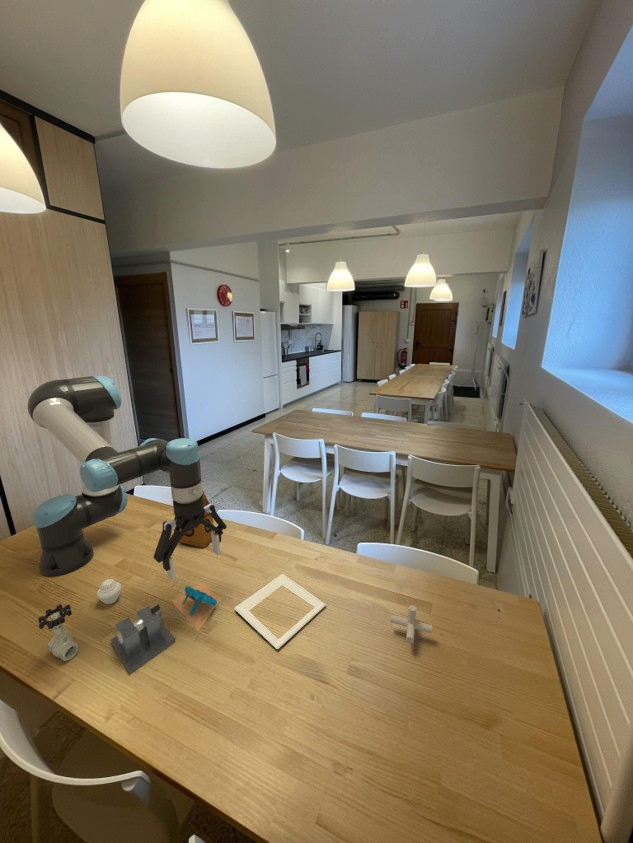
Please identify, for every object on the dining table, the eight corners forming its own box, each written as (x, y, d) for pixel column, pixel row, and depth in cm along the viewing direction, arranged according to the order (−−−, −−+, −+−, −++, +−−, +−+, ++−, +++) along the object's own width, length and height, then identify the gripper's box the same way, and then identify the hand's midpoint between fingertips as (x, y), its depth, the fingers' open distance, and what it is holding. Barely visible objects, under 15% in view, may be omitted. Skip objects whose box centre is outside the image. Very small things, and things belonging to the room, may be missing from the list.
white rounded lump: (95, 610, 95) (90, 590, 93) (103, 594, 100) (99, 574, 98) (119, 606, 96) (115, 586, 94) (126, 590, 102) (122, 571, 100)
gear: (224, 602, 96) (202, 597, 88) (214, 624, 93) (190, 620, 86) (200, 586, 102) (177, 580, 94) (189, 606, 99) (165, 601, 92)
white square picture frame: (326, 609, 95) (326, 604, 95) (277, 655, 82) (277, 648, 81) (282, 578, 107) (282, 572, 107) (233, 613, 94) (233, 607, 93)
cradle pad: (171, 602, 97) (171, 601, 97) (202, 583, 105) (202, 582, 104) (198, 631, 88) (198, 630, 88) (230, 608, 95) (230, 607, 95)
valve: (57, 671, 78) (46, 630, 74) (42, 659, 80) (30, 620, 77) (86, 647, 83) (77, 609, 80) (71, 637, 86) (61, 600, 83)
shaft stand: (111, 644, 84) (105, 618, 82) (155, 616, 92) (151, 592, 90) (130, 675, 77) (124, 647, 75) (175, 642, 85) (171, 616, 83)
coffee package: (202, 552, 119) (196, 497, 113) (175, 544, 123) (168, 491, 117) (219, 536, 128) (214, 485, 122) (193, 530, 132) (187, 480, 126)
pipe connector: (430, 628, 89) (433, 598, 86) (429, 662, 80) (433, 630, 77) (392, 618, 92) (394, 588, 89) (387, 650, 83) (390, 618, 80)
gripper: (145, 522, 75) (156, 598, 81) (235, 485, 93) (240, 549, 99) (131, 510, 80) (143, 582, 86) (220, 477, 98) (225, 538, 104)
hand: (195, 564), depth 93 cm, fingers open, 13 cm apart
